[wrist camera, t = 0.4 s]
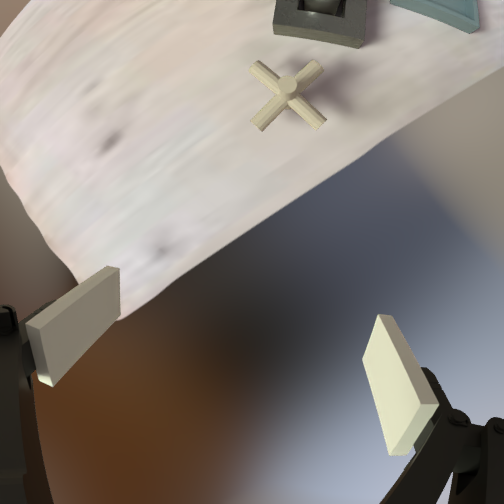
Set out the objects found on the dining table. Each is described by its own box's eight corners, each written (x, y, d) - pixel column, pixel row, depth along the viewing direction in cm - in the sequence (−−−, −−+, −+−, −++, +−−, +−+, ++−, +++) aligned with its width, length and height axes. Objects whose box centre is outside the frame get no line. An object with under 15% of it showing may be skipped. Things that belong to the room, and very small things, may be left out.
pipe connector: (284, 51, 35) (283, 21, 26) (343, 103, 36) (360, 86, 27) (230, 105, 38) (213, 88, 28) (289, 157, 39) (290, 156, 29)
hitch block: (283, -28, 31) (283, -41, 28) (362, -14, 31) (367, -26, 27) (273, 34, 35) (272, 24, 31) (358, 48, 34) (364, 40, 31)
